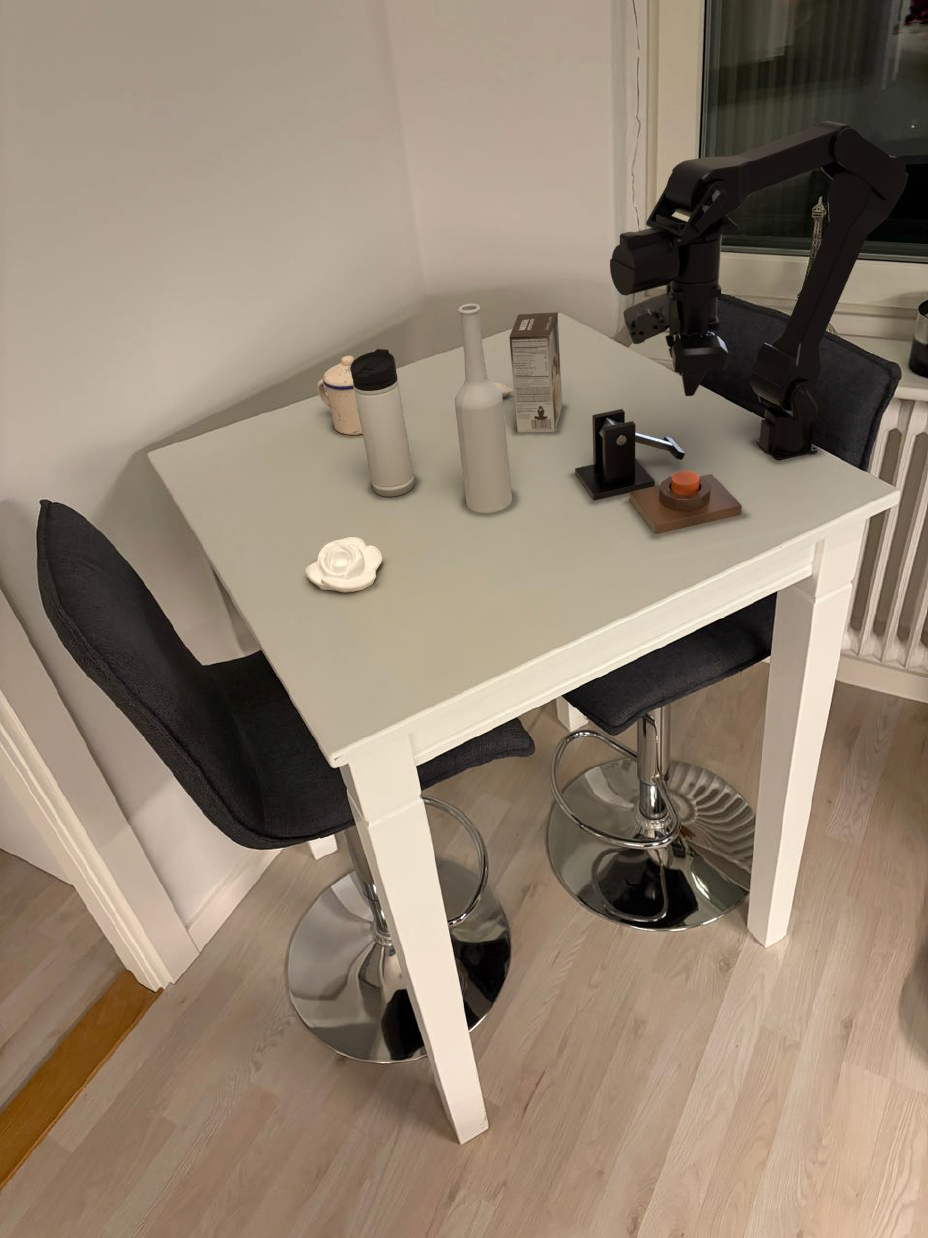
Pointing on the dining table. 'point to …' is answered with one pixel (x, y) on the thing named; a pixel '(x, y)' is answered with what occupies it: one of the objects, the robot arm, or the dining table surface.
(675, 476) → the button
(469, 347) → the bottle
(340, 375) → the teacup with lid
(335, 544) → the rose
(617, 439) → the lever bracket
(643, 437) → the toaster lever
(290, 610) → the dining table surface
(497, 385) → the macaroon
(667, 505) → the button block
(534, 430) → the coffee box
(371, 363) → the travel mug
